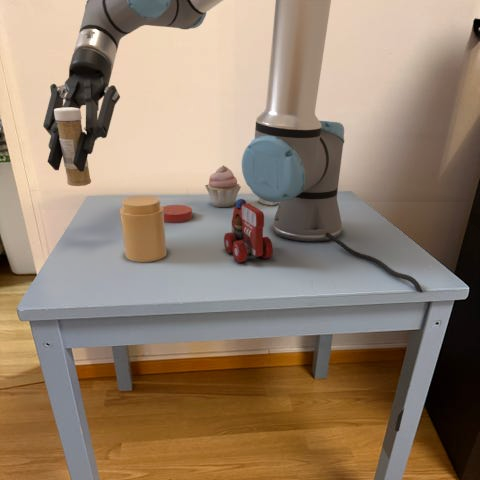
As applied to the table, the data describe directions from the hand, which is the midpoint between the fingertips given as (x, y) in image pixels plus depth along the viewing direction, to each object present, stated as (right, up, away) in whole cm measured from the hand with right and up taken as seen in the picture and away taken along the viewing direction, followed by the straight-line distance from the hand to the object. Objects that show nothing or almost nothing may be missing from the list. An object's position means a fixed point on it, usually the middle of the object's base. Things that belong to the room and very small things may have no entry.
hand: (65, 166), depth 83 cm
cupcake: (+28, +2, +37) cm, 46 cm away
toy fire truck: (+33, -15, +7) cm, 37 cm away
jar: (+14, -15, +6) cm, 21 cm away
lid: (+16, -2, +26) cm, 31 cm away
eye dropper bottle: (+40, +3, +38) cm, 55 cm away
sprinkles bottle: (+1, -2, +5) cm, 6 cm away
